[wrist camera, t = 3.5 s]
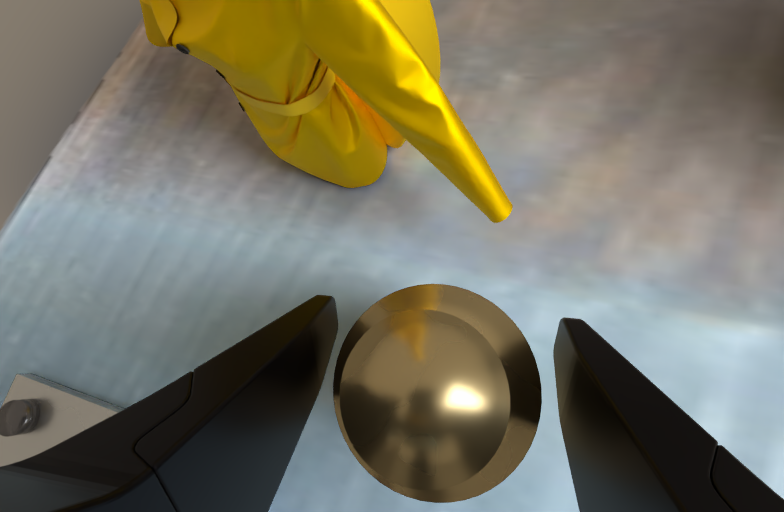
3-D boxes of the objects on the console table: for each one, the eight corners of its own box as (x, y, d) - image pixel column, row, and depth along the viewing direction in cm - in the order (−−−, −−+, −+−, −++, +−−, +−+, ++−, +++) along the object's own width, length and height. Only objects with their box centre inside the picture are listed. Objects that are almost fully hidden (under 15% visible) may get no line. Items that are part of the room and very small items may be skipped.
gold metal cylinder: (491, 455, 14) (546, 619, 5) (374, 417, 15) (247, 498, 6) (515, 334, 15) (598, 289, 6) (404, 306, 16) (331, 231, 7)
